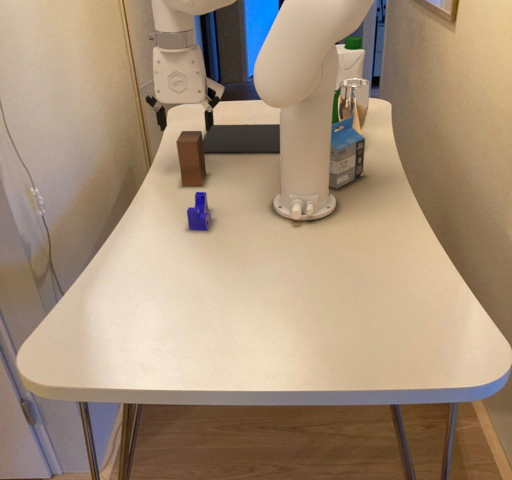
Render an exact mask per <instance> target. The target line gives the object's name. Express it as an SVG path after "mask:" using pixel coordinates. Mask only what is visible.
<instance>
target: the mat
mask: <svg viewBox="0 0 512 480" xmlns="http://www.w3.org/2000/svg"><path fill="white" fill-rule="evenodd" d="M203 147H204V155H205V154H207V155H208V154H212V155H213V154H280V123H279V124H278V123H275V124H274V123H273V124H270V123H269V124H268V123H267V124H214V125H213V126H211V129H210V131H206V133H205V135H204V137H203Z"/></svg>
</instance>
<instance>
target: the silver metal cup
mask: <svg viewBox="0 0 512 480" xmlns="http://www.w3.org/2000/svg"><path fill="white" fill-rule="evenodd" d="M369 102H370V81H369V79H366V78H363V77H362V78H347V79H343V80H341V81H340V87H339V95H338V115H339V122H340V121H342V120H345V119H347V118H350V117H352V116H354V119H353V125H352V128H353V129H355V130H356V131H357V132H358V133H359V134H360V135H361V136H362V137H363V130H364V127H365V122H366V119H367V115H368V110H369V104H370V103H369ZM343 128H344V126H340V128H339V130H340V129H343Z"/></svg>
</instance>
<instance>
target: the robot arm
mask: <svg viewBox="0 0 512 480" xmlns="http://www.w3.org/2000/svg"><path fill="white" fill-rule="evenodd" d="M237 1H238V0H150V2H151V9H152V17H153V24H154V30H153V31H152V32H151V31H149V32H148V36H147V37H148V40H149V41H153V42H154V43H155V46H154V47H153V49H152V72H153V73H152V75H153V78H152V79H150V80H148V81H147V82H146V83H143V84H142V85H141V86H140V87H139V89H138V90H139V93H140V95H142V97H143V98H144V100H145V102H146V103H147V104H148V105H149V106H150V107H151V108H152V110H153V112H155V116H156V123H157V126H159V129H160V131H161V132H164V131H165V130H166V129H167V127H168V121H167V120H168V119H167V114H166V108H165V106H163V105H201V106H202V107H203V108H204V109H205V110H204V112H203V113H204V115H203V116H204V125H205V131H206V132H207V131H210V129H211V126H213V125H215V120H214V119H215V118H214V109H215V108H216V107H217V105H218V104H219V103H220V101H221V98H222V97H223V95H224V92H225V86H224V85H222V84H221V83H218V82H217V81H215V80H213V79H211V78H210V77H207V73H206V72H207V71H206V66H205V60H204V56H203V52H202V48H201V45H200V44H198V43H197V36H196V35H197V34H196V26H195V16H202V15H205V14H209V13H211V12H214V11H216V10H219V9H222V8H224V7H228V6H231V5H232V4H235V3H236V2H237ZM375 1H376V0H284V1H283V3H282V4H281V7H280V9H279V10H278V12H277V15H276V17H275V19H274V21H273V23H272V25H271V27H270V29H269V31H268V34H267V36H266V37H265V39H264V42H263V44H262V45H261V47H260V50H259V52H258V54H257V57H256V60H255V62H254V66H253V84H254V89H255V91H256V93H257V95H258V97H259V99H260V100H261V101H262V102H263V103H264V104H266V105H267V106H269V107H272V108H275V109H280V110H279V111H280V112H279V124H280V153H279V161H280V162H279V165H280V167H279V168H280V193H278V194H277V195H276V196H275V197H274V199H273V202H272V204H273V209H274V211H275V212H276V213H277V214H278V215H280V216H281V217H284V218H286V219H290V220H295V221H315V220H318V219H319V220H320V219H323V218H326V217H327V216H329V215H330V214H332V213H333V212H334V211H335V209H336V208H337V207H336V206H337V204H336V203H337V200H336V197H335V196H334V195H333V194H332V193H331V192H330V191H329V190H330V186H329V171H330V148H331V128H332V110H333V100H334V93H335V87H336V82H337V76H338V69H339V58H338V52H337V48H336V46H335V45H336V43H339V42H341V41H342V40H343V39H344V40H345V39H346V37H350V36H351V34H353V33H354V32H356V30H358V29H359V27H360V26H361V24H362V23H363V22H364V20H365V18H366V16H367V14H368V12H369V11H370V9H371V7H372V6H373V4H374V2H375ZM153 88H154V94H155V96H153V95H152V94H151V92H150V90H152V89H153ZM208 88H209V89H211V90H213V91H214V92H215V95H214V96H213V98H212V99H211V98H210V97H209V96H208V92H209V89H208Z"/></svg>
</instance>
